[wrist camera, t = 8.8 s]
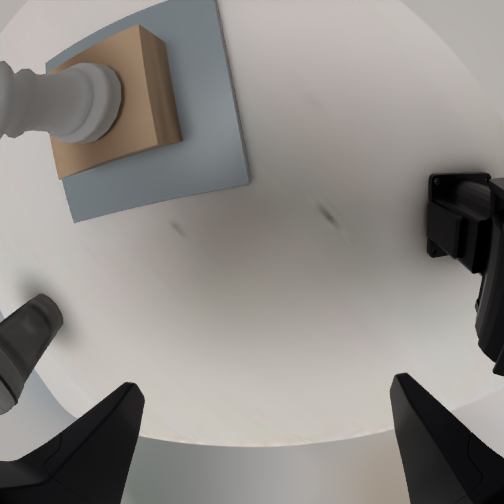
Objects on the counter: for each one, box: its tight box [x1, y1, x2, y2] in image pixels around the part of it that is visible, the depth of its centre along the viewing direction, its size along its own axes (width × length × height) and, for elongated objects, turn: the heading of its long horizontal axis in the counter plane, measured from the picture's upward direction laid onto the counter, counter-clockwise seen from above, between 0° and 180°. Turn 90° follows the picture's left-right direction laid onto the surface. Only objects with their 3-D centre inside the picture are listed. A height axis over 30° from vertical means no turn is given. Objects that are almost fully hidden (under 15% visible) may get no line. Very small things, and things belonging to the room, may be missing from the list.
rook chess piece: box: [0, 61, 121, 144], centre depth 8 cm, size 4×4×8 cm
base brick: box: [47, 24, 183, 180], centre depth 13 cm, size 7×7×4 cm
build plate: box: [46, 0, 251, 223], centre depth 16 cm, size 14×14×2 cm
